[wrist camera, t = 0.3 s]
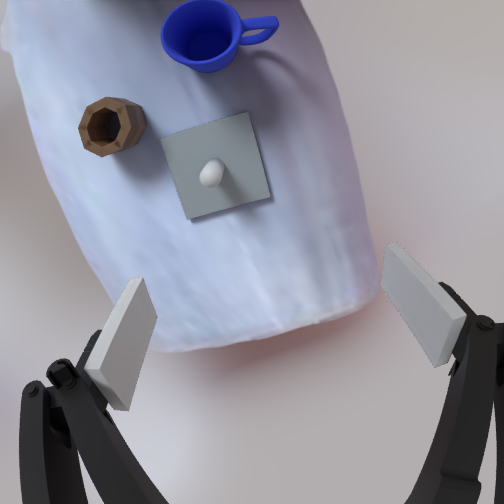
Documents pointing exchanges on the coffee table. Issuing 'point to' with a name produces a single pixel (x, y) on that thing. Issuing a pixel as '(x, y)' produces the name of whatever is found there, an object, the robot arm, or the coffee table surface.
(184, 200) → the square plate with peg
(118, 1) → the coffee table surface
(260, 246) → the coffee table surface
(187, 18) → the mug
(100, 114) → the ring
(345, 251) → the coffee table surface
